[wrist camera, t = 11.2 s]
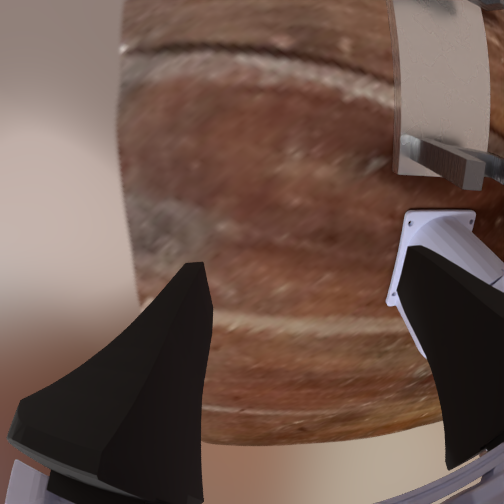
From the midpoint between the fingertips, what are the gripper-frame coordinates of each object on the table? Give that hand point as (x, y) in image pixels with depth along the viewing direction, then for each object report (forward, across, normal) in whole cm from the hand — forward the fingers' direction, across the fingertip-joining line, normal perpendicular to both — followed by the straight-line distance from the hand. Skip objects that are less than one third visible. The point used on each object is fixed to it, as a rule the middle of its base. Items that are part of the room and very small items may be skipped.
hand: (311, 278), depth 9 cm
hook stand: (+10, -13, -9) cm, 19 cm away
